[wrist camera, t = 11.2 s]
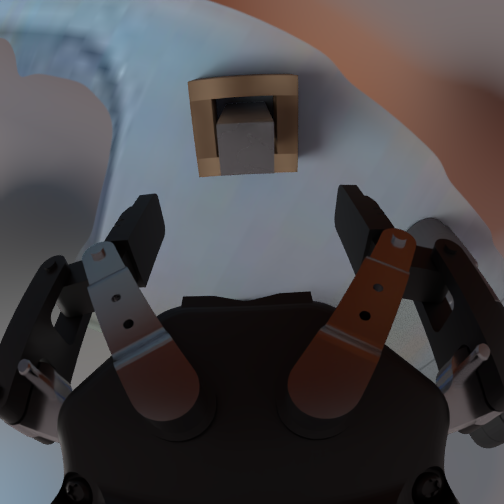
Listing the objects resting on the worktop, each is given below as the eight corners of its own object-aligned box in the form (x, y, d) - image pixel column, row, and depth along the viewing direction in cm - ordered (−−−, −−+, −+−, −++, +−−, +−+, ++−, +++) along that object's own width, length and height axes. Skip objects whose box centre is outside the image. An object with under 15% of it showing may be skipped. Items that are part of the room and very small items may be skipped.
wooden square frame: (291, 73, 24) (297, 75, 21) (291, 158, 31) (297, 171, 28) (194, 79, 25) (187, 81, 21) (204, 163, 31) (199, 177, 28)
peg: (264, 101, 26) (273, 121, 18) (265, 135, 29) (274, 173, 20) (226, 103, 27) (216, 124, 18) (228, 137, 29) (220, 175, 20)
